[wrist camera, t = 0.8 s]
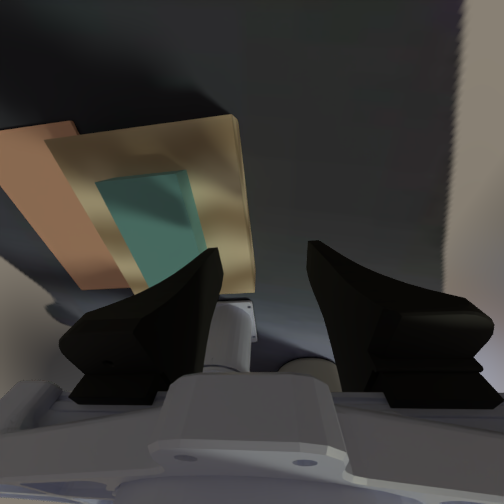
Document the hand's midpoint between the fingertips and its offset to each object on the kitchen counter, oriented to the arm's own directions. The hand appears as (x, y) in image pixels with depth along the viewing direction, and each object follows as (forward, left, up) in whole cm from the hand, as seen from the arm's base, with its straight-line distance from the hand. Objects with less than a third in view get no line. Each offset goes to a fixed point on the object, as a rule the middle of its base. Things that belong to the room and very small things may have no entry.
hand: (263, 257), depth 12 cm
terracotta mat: (0, +22, -9) cm, 23 cm away
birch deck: (0, +9, -9) cm, 13 cm away
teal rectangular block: (0, +9, -5) cm, 10 cm away
